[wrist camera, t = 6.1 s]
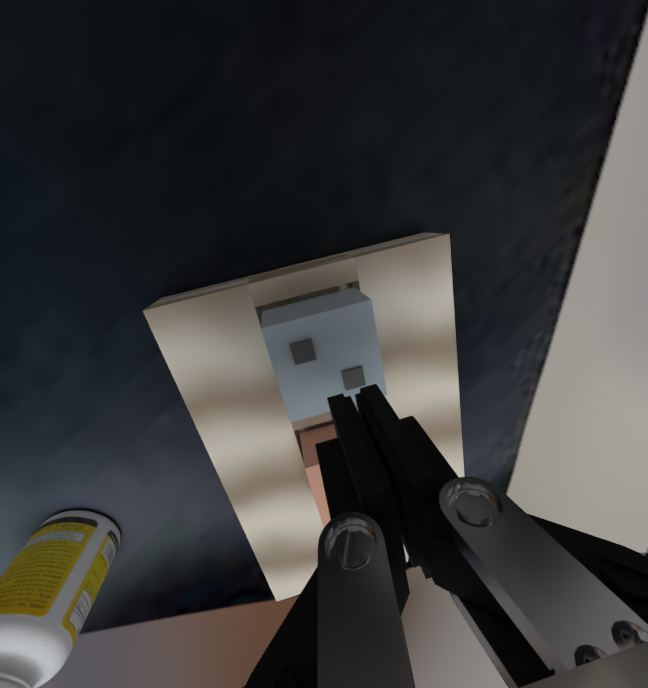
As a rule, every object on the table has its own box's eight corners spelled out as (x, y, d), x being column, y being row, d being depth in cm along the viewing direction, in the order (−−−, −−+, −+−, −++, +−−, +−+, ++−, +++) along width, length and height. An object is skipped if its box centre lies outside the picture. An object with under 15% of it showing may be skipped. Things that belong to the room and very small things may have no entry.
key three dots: (299, 433, 19) (305, 471, 16) (377, 411, 20) (396, 444, 17) (317, 492, 21) (325, 535, 18) (387, 471, 21) (407, 509, 18)
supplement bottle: (19, 534, 22) (-156, 750, 13) (81, 494, 22) (-53, 687, 13) (81, 572, 24) (-32, 782, 15) (139, 536, 24) (59, 728, 15)
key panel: (161, 297, 18) (142, 310, 15) (423, 232, 19) (449, 233, 16) (275, 563, 27) (276, 601, 24) (448, 507, 28) (468, 538, 25)
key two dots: (261, 311, 16) (260, 330, 13) (354, 287, 17) (372, 300, 14) (286, 392, 18) (290, 425, 15) (369, 369, 18) (388, 396, 15)
